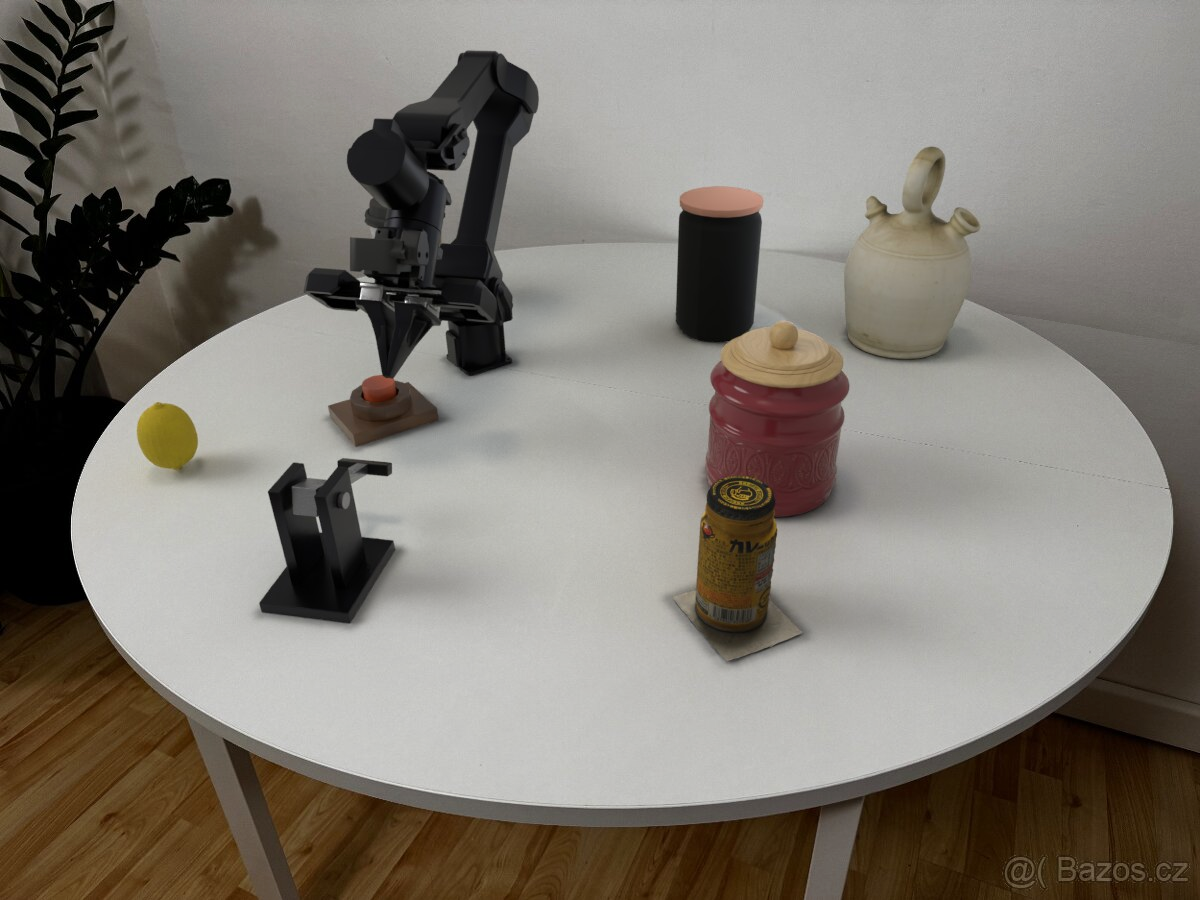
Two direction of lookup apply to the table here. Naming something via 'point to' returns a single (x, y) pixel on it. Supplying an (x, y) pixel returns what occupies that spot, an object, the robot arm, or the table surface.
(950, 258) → the jug
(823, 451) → the kitchen canister
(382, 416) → the button block
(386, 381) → the button
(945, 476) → the table surface
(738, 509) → the condiment
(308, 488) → the control lever
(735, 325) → the coffee jar
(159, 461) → the lemon
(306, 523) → the lever bracket
